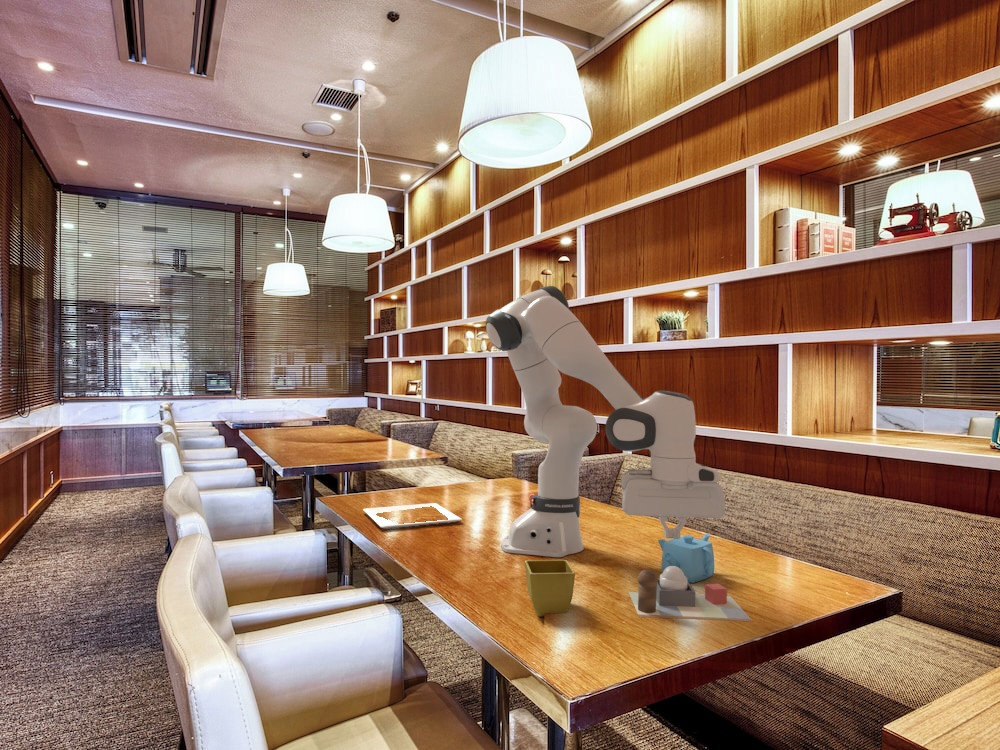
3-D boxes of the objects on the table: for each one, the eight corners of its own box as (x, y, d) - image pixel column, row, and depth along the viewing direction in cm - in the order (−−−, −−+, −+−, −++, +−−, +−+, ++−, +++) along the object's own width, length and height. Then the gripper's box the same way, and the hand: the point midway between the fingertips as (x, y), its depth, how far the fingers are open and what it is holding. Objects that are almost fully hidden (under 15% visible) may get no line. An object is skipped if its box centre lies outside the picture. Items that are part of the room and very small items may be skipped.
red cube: (713, 604, 116) (713, 589, 116) (705, 599, 119) (705, 584, 119) (726, 603, 117) (726, 588, 117) (718, 598, 120) (718, 583, 120)
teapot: (690, 596, 123) (691, 548, 123) (636, 578, 134) (637, 535, 134) (733, 579, 135) (734, 535, 135) (680, 563, 146) (681, 523, 146)
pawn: (638, 612, 111) (639, 572, 111) (635, 605, 115) (636, 566, 115) (658, 614, 111) (659, 573, 111) (655, 606, 115) (656, 567, 115)
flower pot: (523, 603, 118) (524, 559, 118) (566, 603, 118) (566, 559, 119) (529, 621, 109) (530, 573, 109) (575, 620, 110) (575, 573, 110)
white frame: (362, 514, 196) (362, 508, 196) (435, 508, 207) (436, 502, 207) (380, 533, 172) (380, 526, 172) (462, 525, 183) (462, 518, 183)
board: (638, 621, 110) (639, 600, 110) (628, 596, 123) (628, 577, 123) (753, 626, 108) (753, 605, 108) (730, 600, 121) (730, 581, 121)
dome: (662, 596, 116) (663, 570, 116) (657, 586, 121) (657, 561, 121) (690, 597, 116) (690, 571, 116) (683, 587, 121) (683, 562, 121)
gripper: (623, 471, 116) (622, 540, 116) (728, 473, 115) (727, 543, 114) (619, 466, 123) (618, 532, 122) (718, 469, 121) (718, 535, 121)
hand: (672, 537), depth 118 cm, fingers closed
